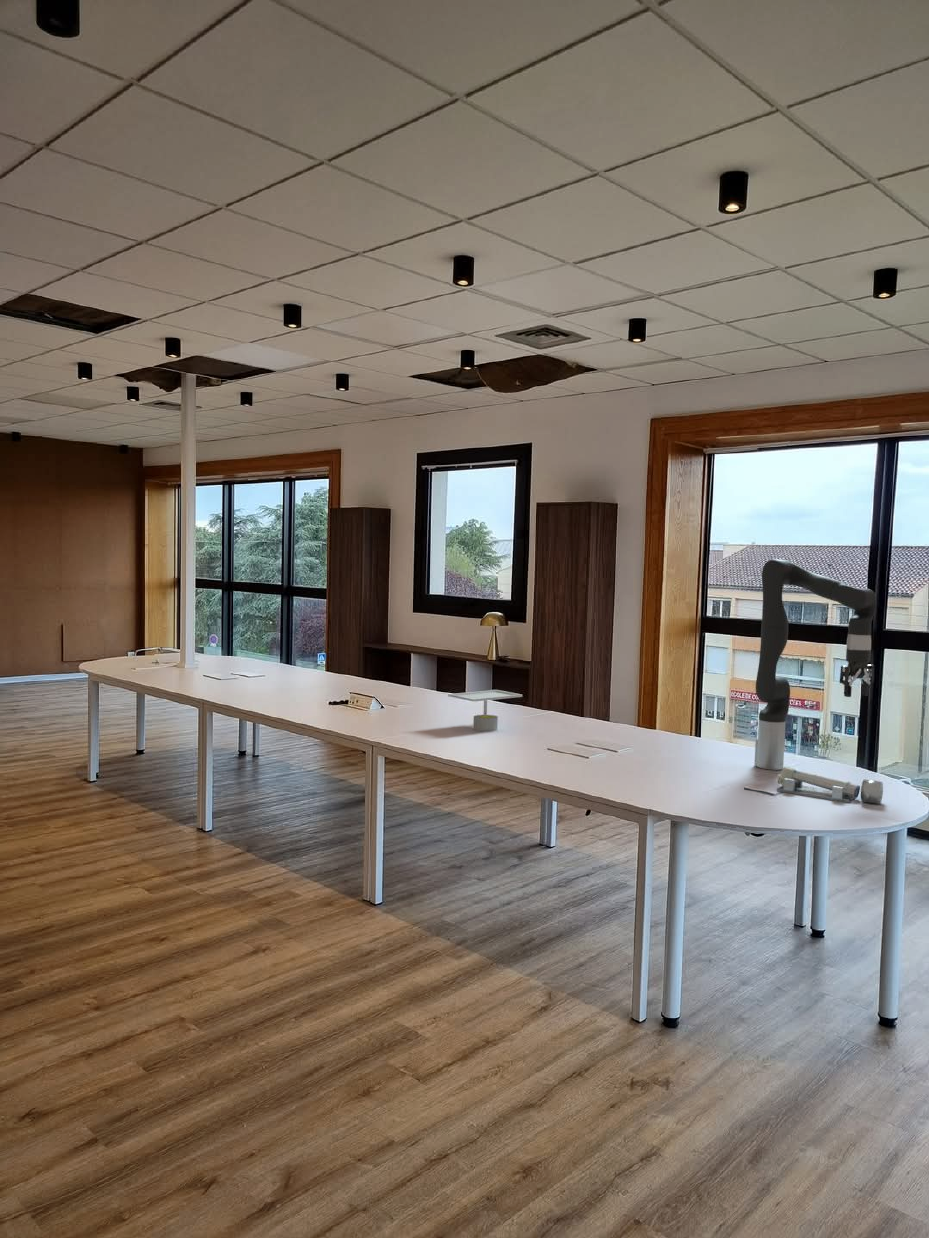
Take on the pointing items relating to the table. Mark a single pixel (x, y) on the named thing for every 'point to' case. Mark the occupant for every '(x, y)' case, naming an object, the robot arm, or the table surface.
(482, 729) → the grey flat rectangular-topped stand
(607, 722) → the table surface
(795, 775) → the white handheld massager
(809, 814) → the table surface
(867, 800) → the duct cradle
